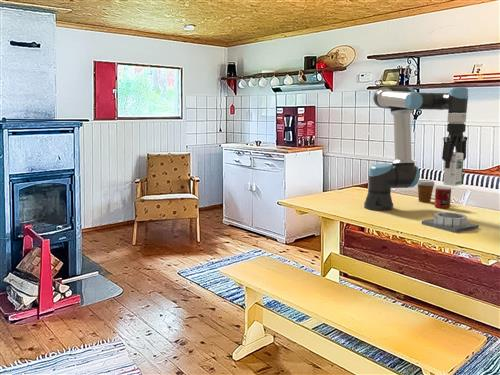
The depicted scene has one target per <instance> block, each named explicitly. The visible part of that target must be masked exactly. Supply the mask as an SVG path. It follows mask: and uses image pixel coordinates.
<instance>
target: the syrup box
mask: <svg viewBox="0 0 500 375" xmlns="http://www.w3.org/2000/svg"><path fill="white" fill-rule="evenodd" d="M463 155H464V153H459V152H456V151H453V155H452V158H451V161H452V172H451V176H446V175H445V163H444V164H443V166H444V168H443V185H445V186H451V187H452V186H453V187H456V186H462V185H463V171H464V170H463V169H464V168H463V167H464V160H463Z"/></svg>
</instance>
